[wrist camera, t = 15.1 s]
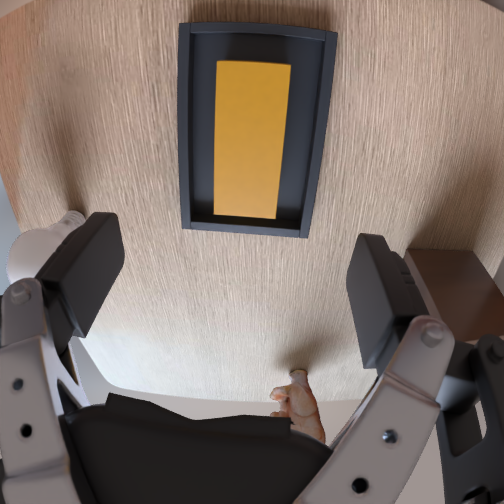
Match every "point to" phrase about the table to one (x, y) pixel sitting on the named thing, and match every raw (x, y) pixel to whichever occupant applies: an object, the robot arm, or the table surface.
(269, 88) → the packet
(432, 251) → the stand
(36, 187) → the table surface
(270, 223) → the tray
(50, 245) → the lightbulb
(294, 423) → the figurine
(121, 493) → the robot arm
